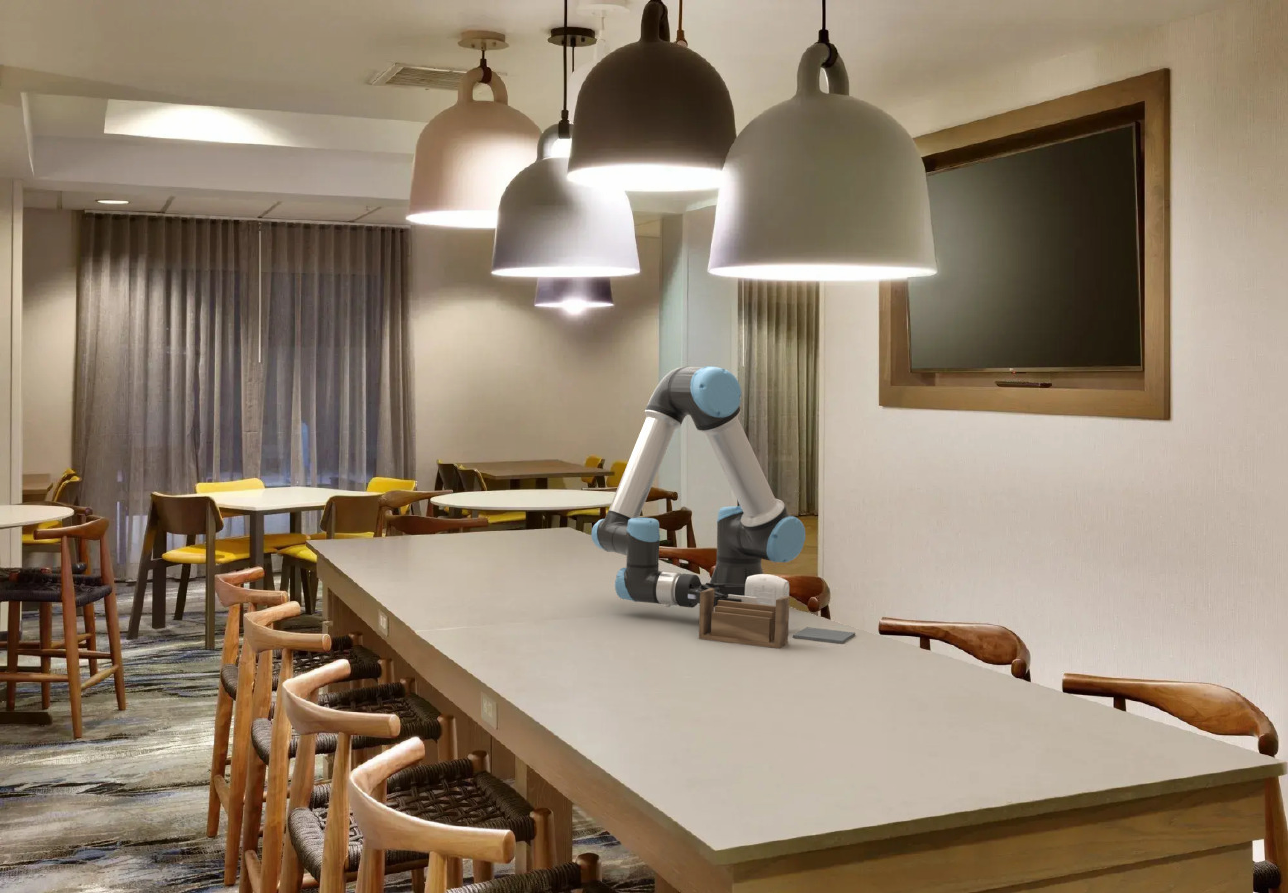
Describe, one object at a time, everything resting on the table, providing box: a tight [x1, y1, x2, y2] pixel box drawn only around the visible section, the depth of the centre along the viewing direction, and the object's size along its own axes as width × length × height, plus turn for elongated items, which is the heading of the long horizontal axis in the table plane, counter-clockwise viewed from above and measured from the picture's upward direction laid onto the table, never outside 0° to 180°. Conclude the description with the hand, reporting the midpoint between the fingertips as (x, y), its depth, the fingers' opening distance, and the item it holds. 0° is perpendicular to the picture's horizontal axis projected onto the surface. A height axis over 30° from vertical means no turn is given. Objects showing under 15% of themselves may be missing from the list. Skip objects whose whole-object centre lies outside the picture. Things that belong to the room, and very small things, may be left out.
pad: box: [792, 626, 856, 644], centre depth 261 cm, size 10×11×1 cm
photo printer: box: [745, 573, 790, 606], centre depth 266 cm, size 10×4×12 cm, turn 61°
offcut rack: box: [698, 588, 790, 649], centre depth 254 cm, size 6×18×10 cm, turn 64°
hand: (767, 599), depth 266 cm, fingers open, 13 cm apart
